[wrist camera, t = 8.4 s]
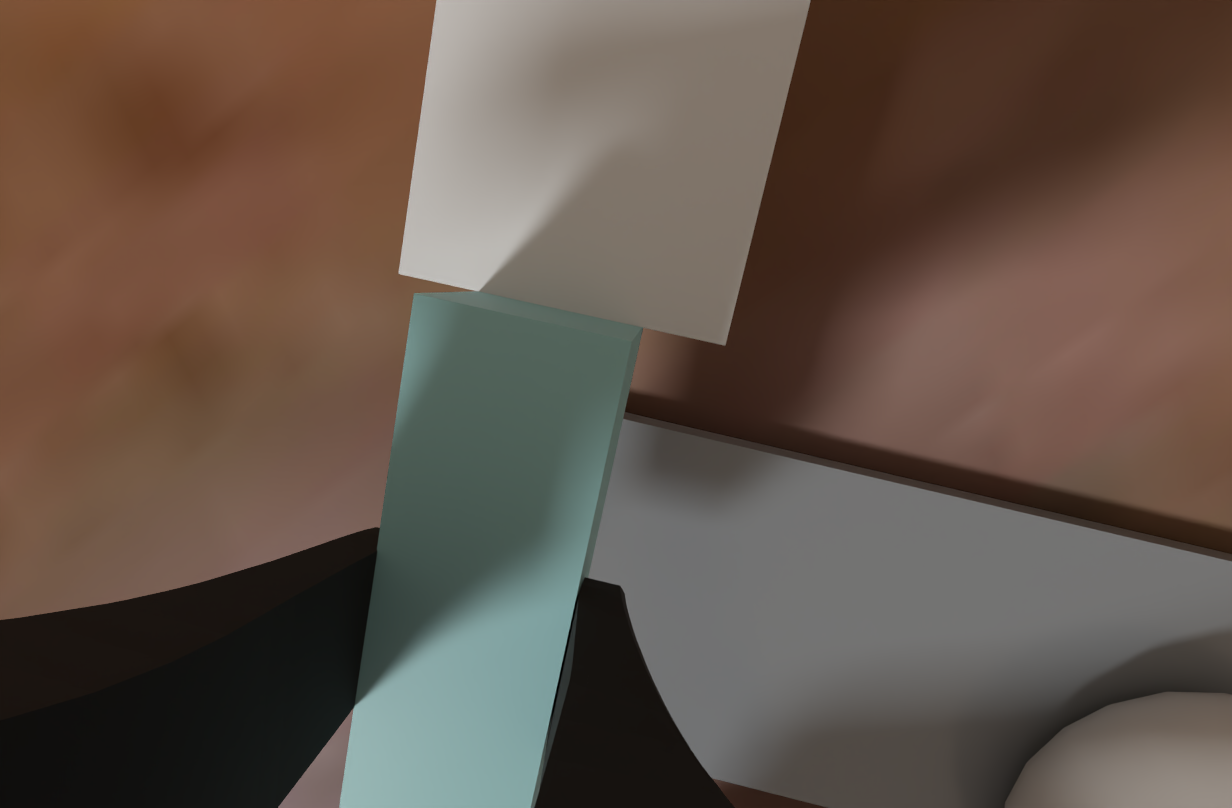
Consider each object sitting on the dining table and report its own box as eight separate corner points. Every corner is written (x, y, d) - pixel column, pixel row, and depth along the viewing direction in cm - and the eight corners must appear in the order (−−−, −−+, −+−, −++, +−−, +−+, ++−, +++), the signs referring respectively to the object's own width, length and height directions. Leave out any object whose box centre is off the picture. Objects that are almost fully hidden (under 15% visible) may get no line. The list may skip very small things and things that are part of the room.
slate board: (1170, 876, 21) (1189, 900, 20) (516, 709, 21) (510, 726, 21) (1334, 577, 18) (1363, 592, 17) (580, 401, 19) (576, 407, 18)
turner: (611, 794, 14) (591, 963, 10) (346, 726, 14) (240, 870, 11) (809, -9, 11) (874, -152, 7) (462, -77, 11) (365, -244, 7)
